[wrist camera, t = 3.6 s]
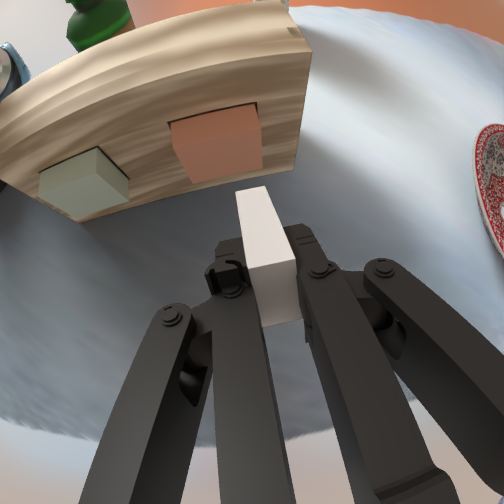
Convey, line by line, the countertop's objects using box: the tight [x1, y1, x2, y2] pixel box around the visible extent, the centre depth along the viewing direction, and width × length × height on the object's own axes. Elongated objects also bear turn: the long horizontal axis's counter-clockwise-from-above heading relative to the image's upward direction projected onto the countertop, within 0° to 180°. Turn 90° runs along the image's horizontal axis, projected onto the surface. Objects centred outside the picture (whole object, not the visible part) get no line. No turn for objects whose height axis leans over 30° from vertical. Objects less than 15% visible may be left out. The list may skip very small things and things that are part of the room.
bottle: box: [66, 0, 136, 53], centre depth 32 cm, size 11×11×28 cm
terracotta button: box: [171, 104, 263, 184], centre depth 28 cm, size 3×8×8 cm, turn 102°
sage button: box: [38, 148, 129, 218], centre depth 28 cm, size 3×8×8 cm, turn 102°
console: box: [0, 0, 312, 223], centre depth 31 cm, size 10×34×22 cm, turn 102°
